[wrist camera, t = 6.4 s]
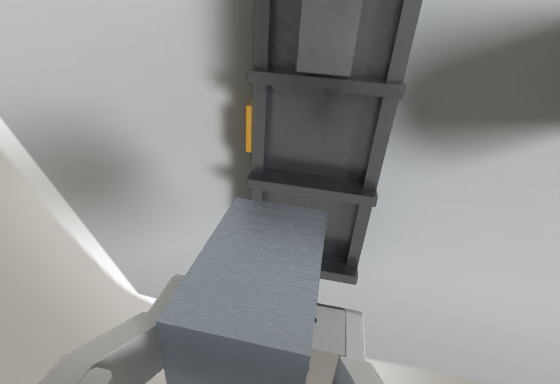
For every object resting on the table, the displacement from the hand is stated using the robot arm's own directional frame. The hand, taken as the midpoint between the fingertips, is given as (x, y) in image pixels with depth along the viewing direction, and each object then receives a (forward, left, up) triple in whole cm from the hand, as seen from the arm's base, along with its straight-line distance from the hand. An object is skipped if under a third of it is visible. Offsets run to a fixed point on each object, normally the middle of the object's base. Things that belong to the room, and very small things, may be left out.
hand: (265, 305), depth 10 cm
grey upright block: (0, 0, -2) cm, 2 cm away
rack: (-1, 0, -18) cm, 18 cm away
